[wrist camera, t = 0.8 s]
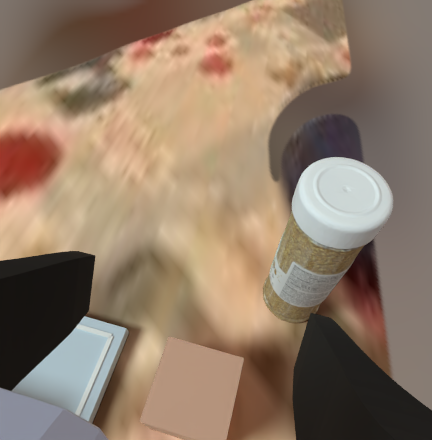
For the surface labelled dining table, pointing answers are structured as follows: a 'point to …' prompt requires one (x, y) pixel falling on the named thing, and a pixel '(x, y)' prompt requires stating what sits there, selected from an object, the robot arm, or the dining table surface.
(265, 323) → the dining table surface
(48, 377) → the board
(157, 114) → the dining table surface
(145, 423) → the terracotta block
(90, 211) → the dining table surface
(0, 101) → the dining table surface
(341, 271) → the spice jar
